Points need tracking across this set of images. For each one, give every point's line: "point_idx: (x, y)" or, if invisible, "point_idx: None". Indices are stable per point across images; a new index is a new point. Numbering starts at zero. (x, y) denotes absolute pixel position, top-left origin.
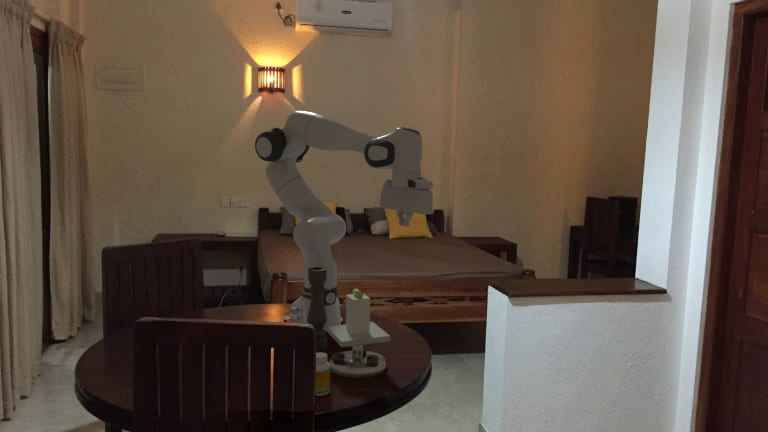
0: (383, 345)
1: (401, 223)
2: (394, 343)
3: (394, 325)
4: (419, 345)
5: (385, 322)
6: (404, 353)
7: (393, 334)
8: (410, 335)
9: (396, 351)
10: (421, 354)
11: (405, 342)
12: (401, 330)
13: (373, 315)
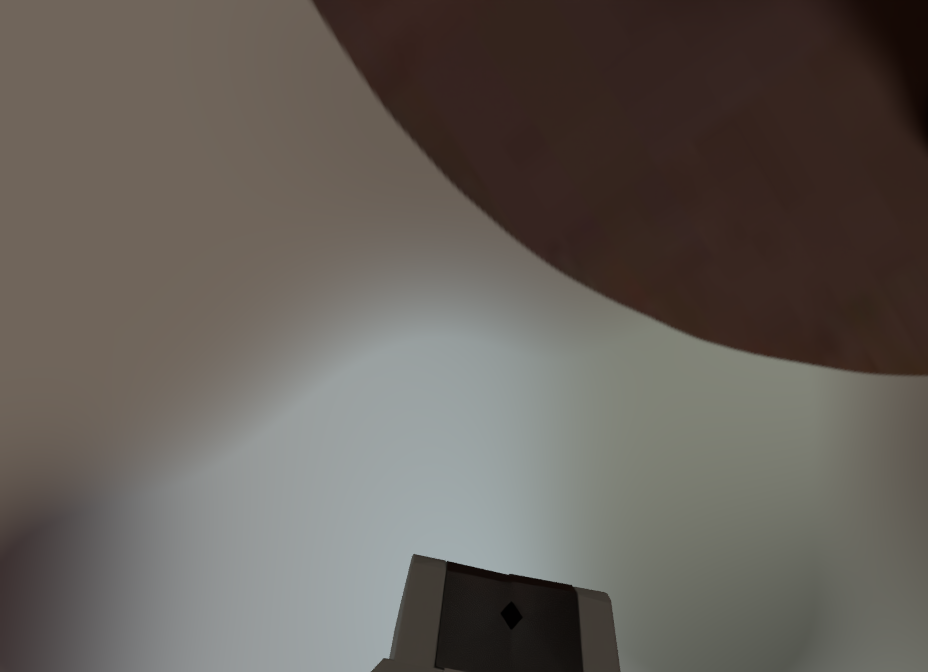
0: (583, 44)
1: (528, 611)
2: (555, 106)
3: (686, 311)
4: (448, 159)
5: (744, 320)
6: (437, 16)
7: (627, 208)
8: (554, 244)
9: (483, 13)
10: (370, 61)
11: (521, 152)
12: (624, 275)
13: (843, 366)
